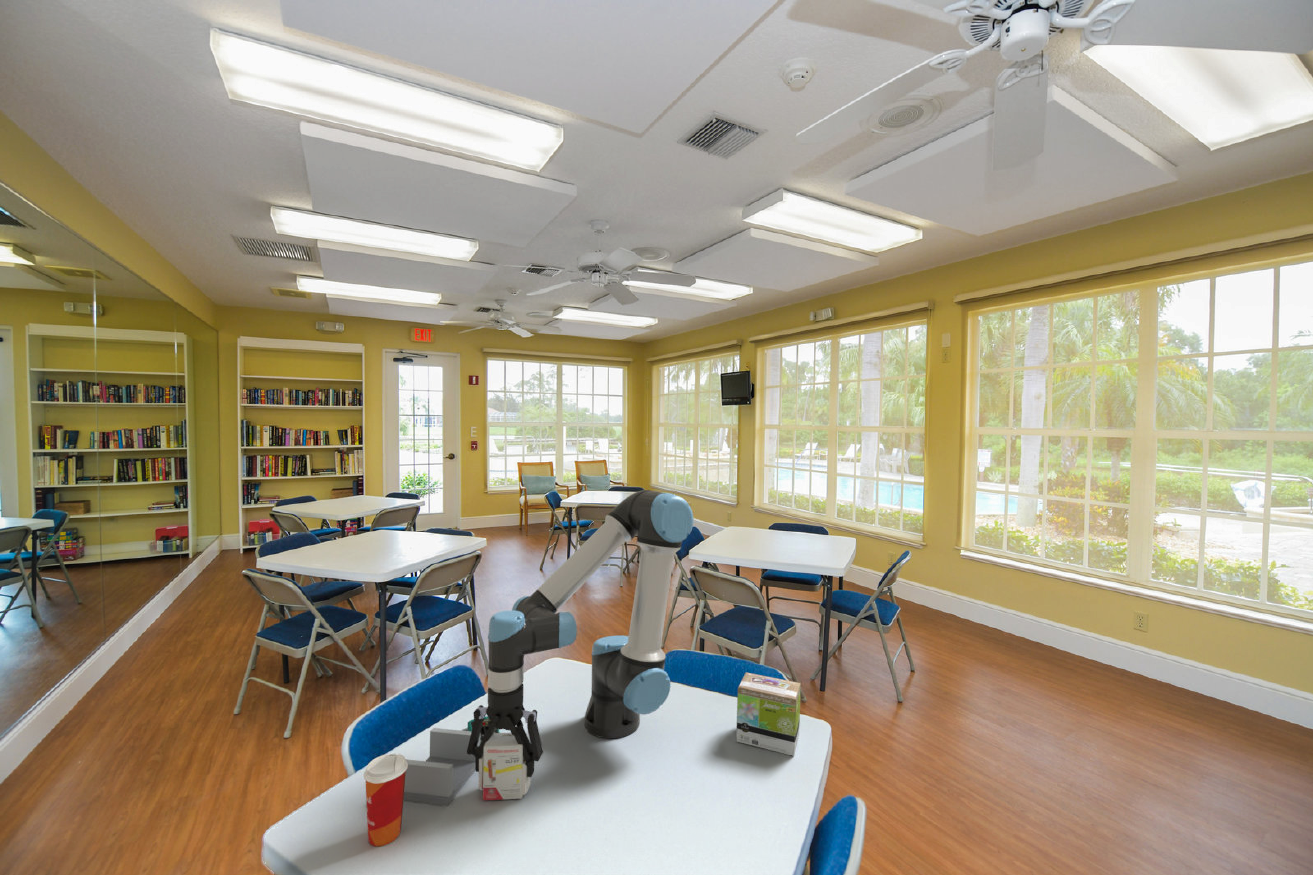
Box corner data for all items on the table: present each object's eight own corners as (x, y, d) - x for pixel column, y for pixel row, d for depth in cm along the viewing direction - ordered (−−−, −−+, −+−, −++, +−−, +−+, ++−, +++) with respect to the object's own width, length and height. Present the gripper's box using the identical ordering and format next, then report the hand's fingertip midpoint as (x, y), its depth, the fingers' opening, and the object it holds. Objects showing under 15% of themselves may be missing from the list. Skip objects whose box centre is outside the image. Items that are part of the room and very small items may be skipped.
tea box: (735, 743, 135) (736, 686, 135) (744, 724, 144) (744, 670, 144) (795, 758, 129) (796, 697, 129) (800, 737, 138) (801, 680, 139)
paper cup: (373, 822, 105) (374, 752, 105) (412, 820, 106) (414, 751, 106) (353, 852, 97) (355, 777, 97) (396, 850, 98) (398, 775, 98)
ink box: (481, 801, 111) (482, 745, 112) (487, 786, 116) (487, 733, 116) (522, 799, 112) (523, 744, 112) (526, 784, 117) (527, 731, 117)
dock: (480, 762, 125) (481, 731, 125) (447, 806, 110) (448, 770, 110) (434, 757, 127) (434, 726, 127) (394, 799, 112) (395, 764, 112)
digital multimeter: (495, 723, 143) (495, 712, 143) (503, 753, 130) (504, 741, 130) (467, 729, 140) (467, 718, 140) (472, 760, 127) (472, 747, 127)
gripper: (559, 680, 117) (558, 781, 116) (467, 673, 120) (466, 772, 119) (548, 697, 109) (546, 805, 109) (450, 689, 112) (448, 794, 112)
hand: (504, 787), depth 114 cm, fingers closed on ink box, 9 cm apart
